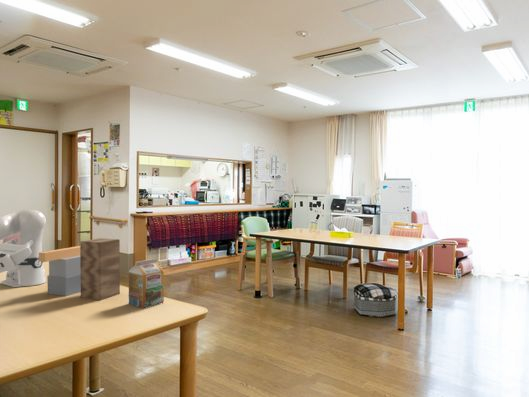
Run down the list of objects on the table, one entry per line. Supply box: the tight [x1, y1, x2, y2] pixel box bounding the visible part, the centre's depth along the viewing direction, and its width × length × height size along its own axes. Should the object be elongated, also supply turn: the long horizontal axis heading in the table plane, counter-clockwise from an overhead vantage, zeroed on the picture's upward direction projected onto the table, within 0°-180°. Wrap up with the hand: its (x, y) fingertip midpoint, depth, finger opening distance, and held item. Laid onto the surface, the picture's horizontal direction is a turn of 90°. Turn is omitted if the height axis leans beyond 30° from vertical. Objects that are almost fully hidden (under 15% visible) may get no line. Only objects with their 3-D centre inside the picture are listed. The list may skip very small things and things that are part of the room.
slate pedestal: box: [46, 255, 81, 297], centre depth 194 cm, size 12×12×17 cm
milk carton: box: [128, 258, 165, 309], centre depth 175 cm, size 11×11×19 cm
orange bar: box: [39, 245, 80, 263], centre depth 192 cm, size 4×24×4 cm, turn 158°
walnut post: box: [79, 237, 121, 301], centre depth 187 cm, size 12×12×26 cm
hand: (23, 240), depth 166 cm, fingers open, 8 cm apart
